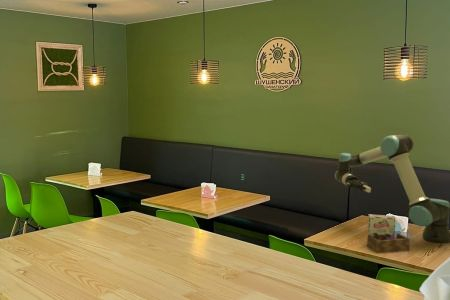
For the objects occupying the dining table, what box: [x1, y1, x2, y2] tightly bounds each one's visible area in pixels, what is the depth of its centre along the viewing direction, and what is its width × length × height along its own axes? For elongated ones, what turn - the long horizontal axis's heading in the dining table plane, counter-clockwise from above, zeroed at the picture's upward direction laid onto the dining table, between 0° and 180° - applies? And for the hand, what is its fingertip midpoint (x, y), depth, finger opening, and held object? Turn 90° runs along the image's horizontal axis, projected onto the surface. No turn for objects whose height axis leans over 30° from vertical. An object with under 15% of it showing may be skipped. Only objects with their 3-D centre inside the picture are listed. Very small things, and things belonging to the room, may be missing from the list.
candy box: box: [367, 213, 396, 240], centre depth 252 cm, size 14×6×16 cm, turn 76°
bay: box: [366, 232, 411, 253], centre depth 247 cm, size 19×10×6 cm, turn 101°
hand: (369, 190), depth 267 cm, fingers closed
